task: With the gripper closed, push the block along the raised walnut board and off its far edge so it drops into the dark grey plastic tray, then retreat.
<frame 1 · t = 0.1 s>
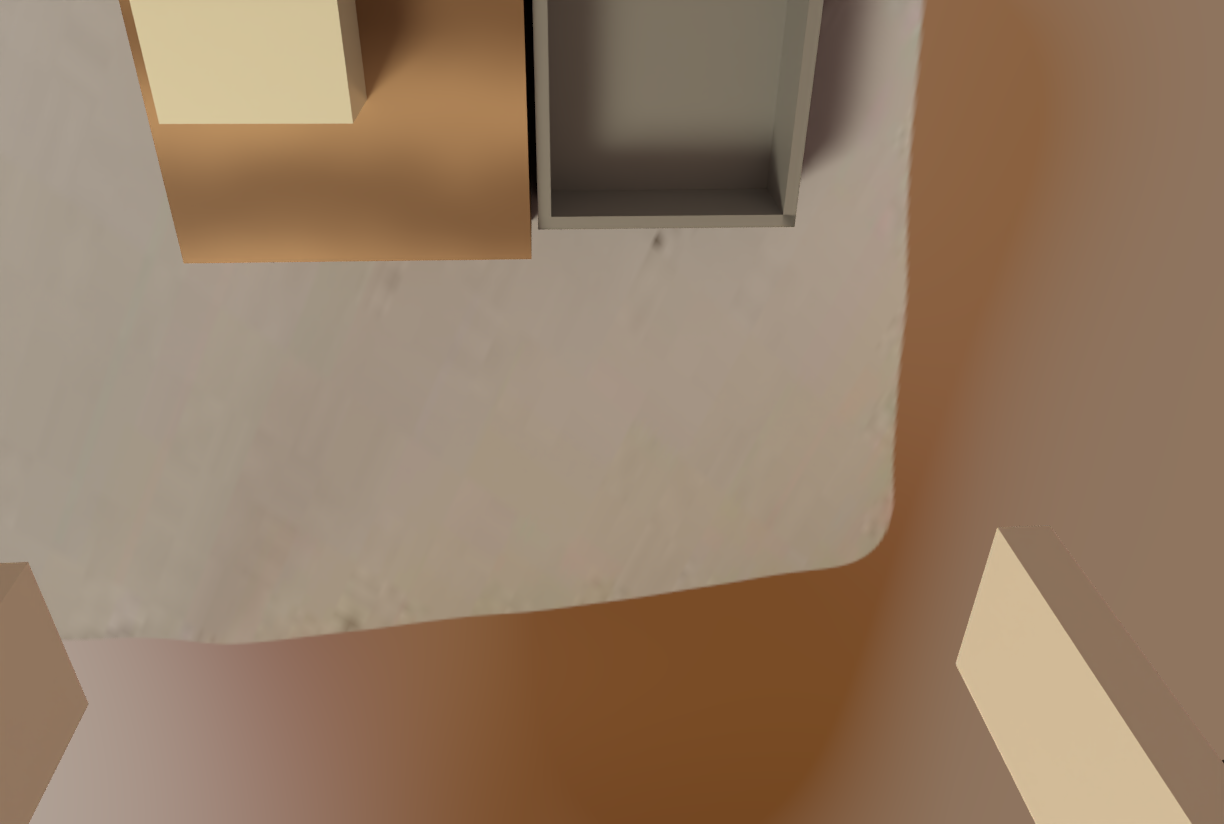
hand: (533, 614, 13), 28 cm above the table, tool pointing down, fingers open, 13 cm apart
block: (262, 5, 30), point 4 cm above the table, touching board
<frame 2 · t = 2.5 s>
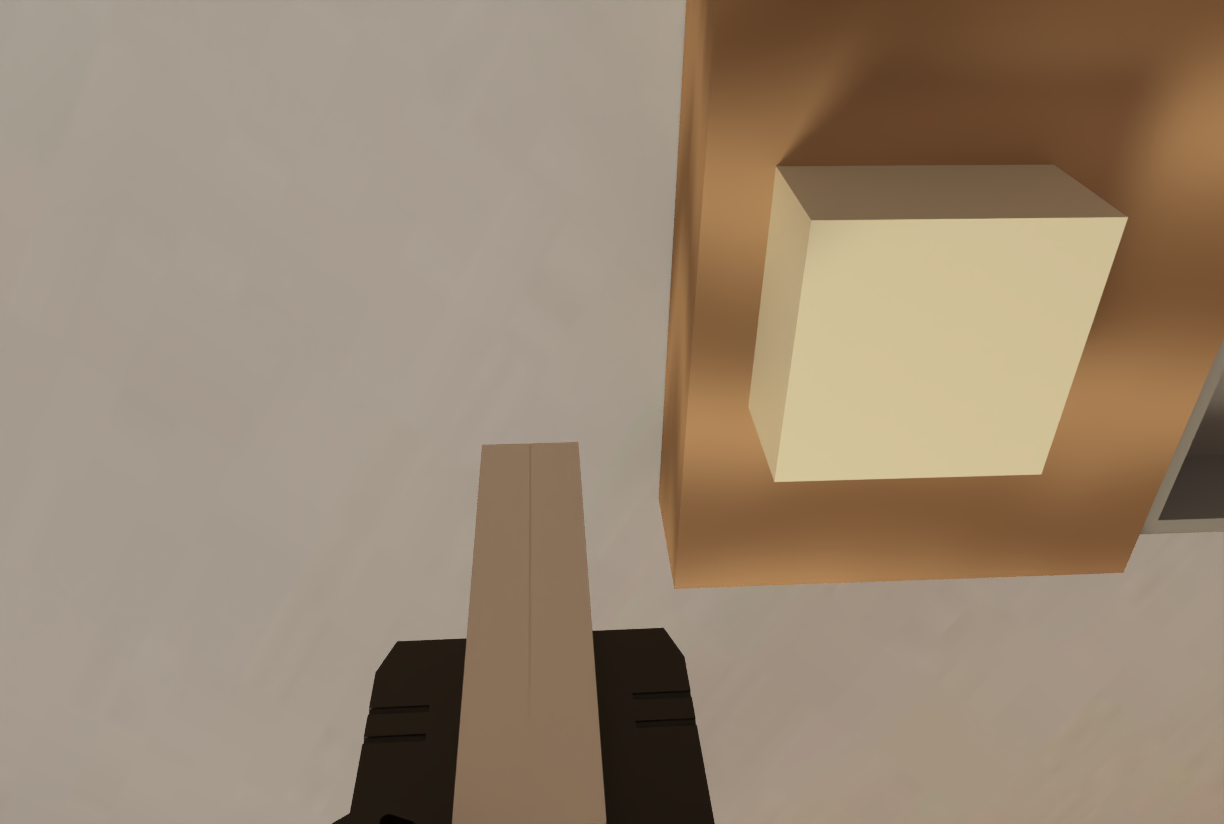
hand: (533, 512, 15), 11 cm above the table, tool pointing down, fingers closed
block: (890, 294, 21), point 4 cm above the table, touching board
board: (916, 226, 25), on the table
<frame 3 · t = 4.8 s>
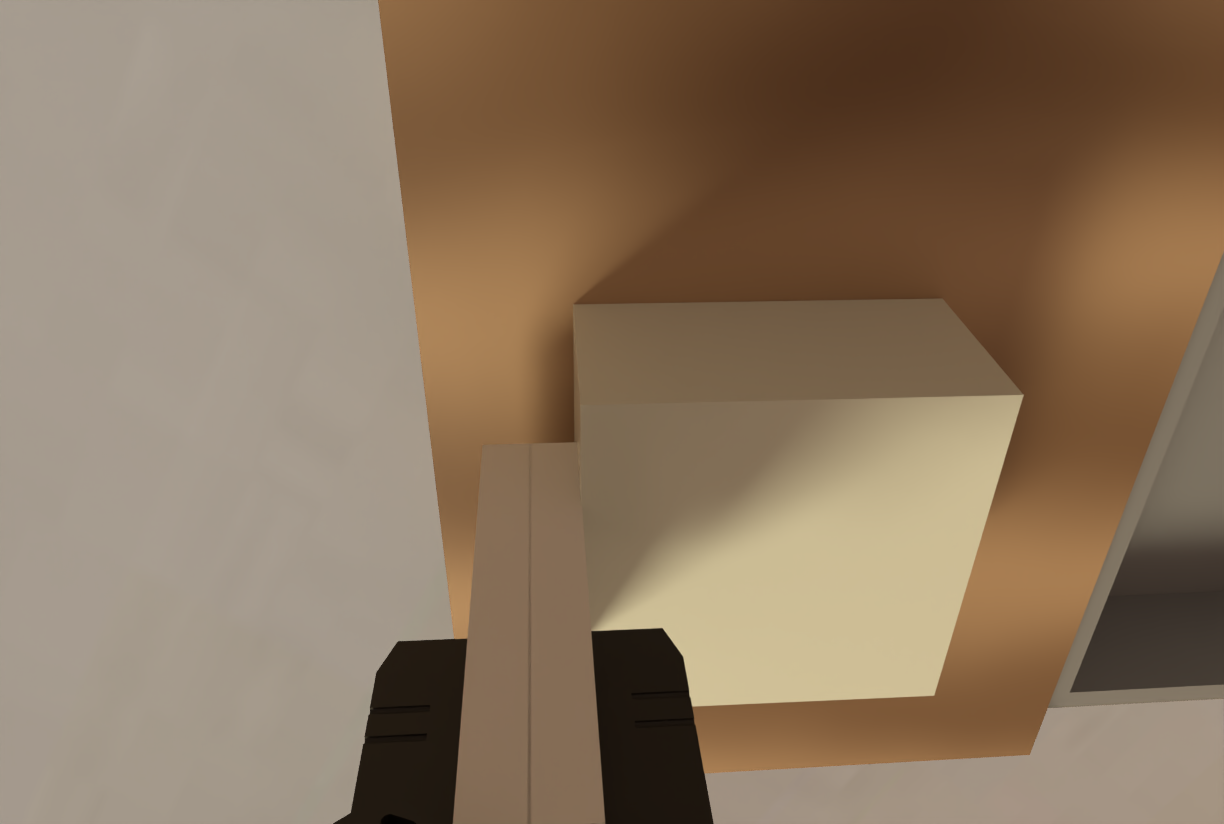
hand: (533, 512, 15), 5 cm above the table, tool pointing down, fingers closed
block: (743, 454, 17), point 4 cm above the table, touching gripper
board: (756, 343, 20), on the table
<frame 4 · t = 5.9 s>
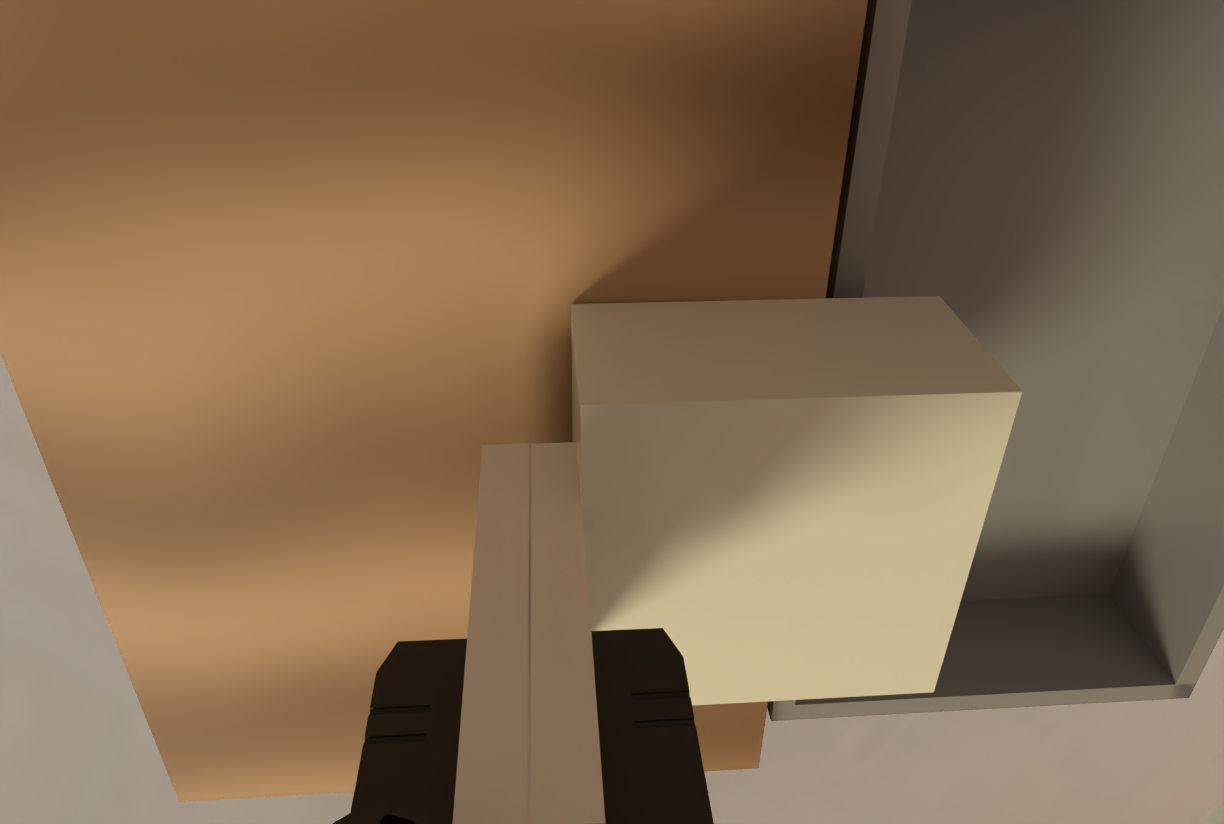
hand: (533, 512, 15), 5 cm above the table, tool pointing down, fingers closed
block: (741, 453, 17), point 4 cm above the table, touching gripper
board: (452, 349, 20), on the table
tray: (998, 333, 20), on the table
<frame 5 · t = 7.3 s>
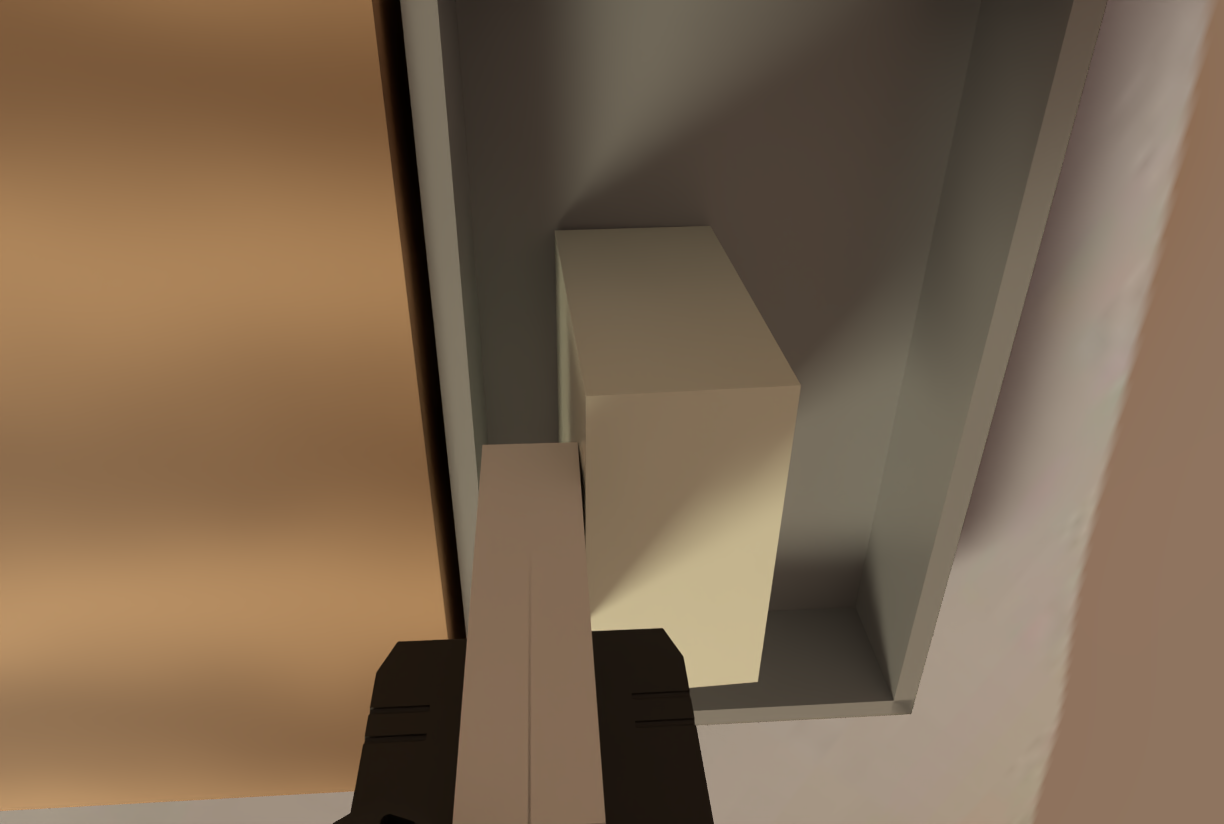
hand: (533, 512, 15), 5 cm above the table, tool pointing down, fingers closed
block: (569, 451, 17), point 4 cm above the table, tilted 93°, touching gripper, tray
board: (125, 357, 19), on the table
tray: (695, 343, 20), on the table
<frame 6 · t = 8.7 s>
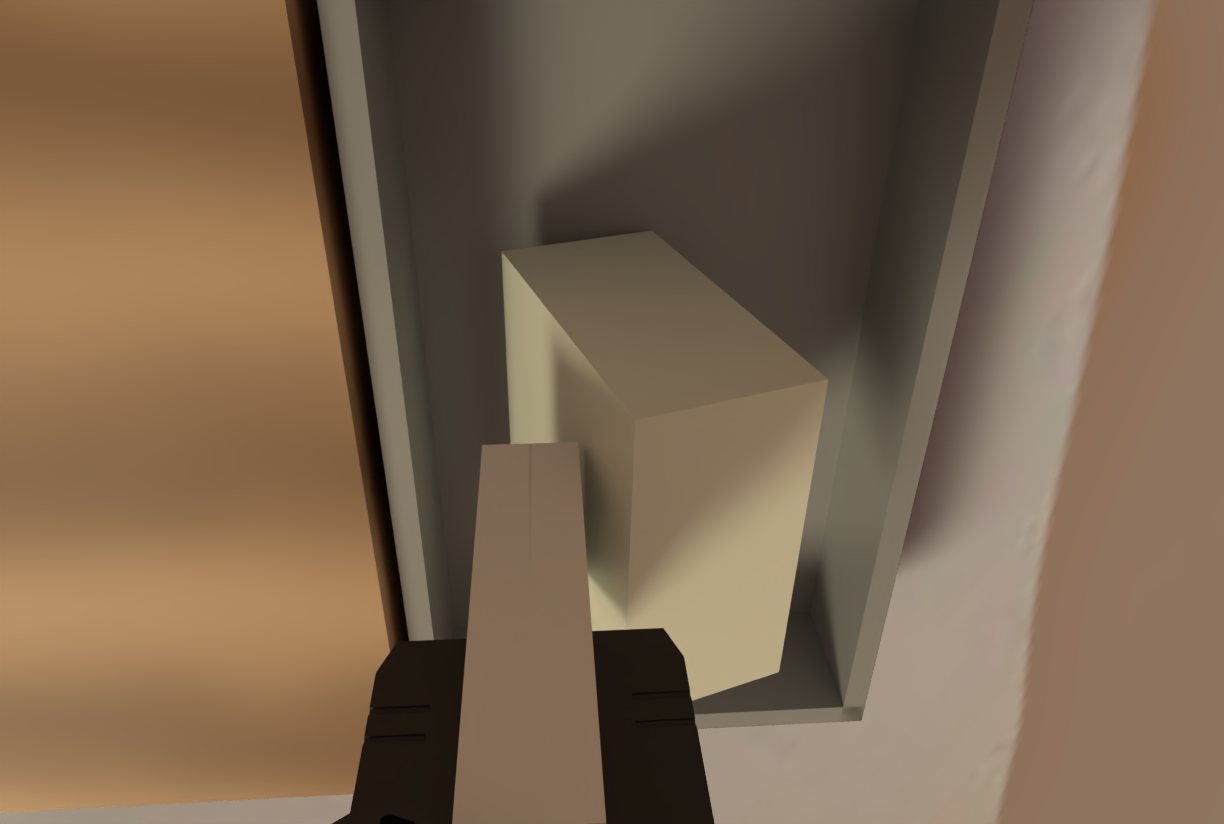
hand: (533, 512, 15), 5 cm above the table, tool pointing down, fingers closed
block: (559, 476, 16), point 4 cm above the table, tilted 108°, touching gripper, tray
board: (66, 360, 19), on the table
tray: (642, 348, 20), on the table
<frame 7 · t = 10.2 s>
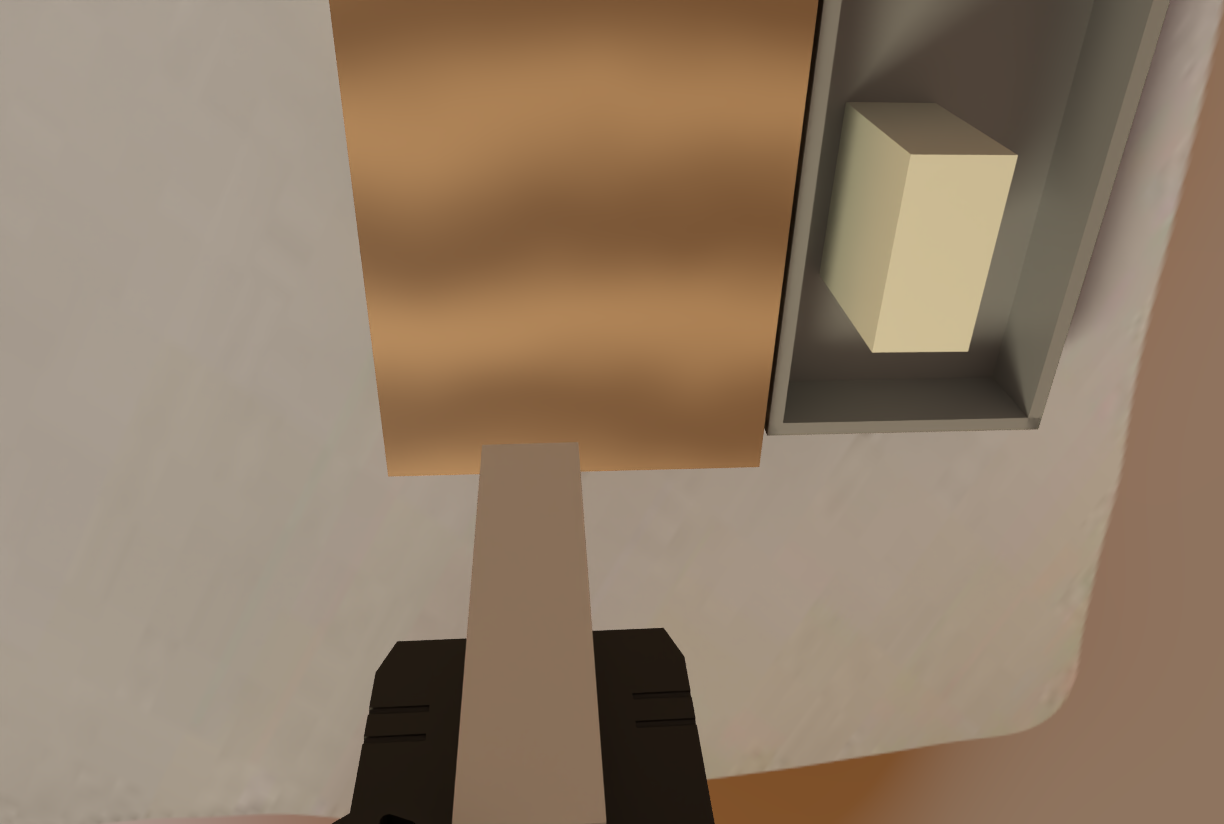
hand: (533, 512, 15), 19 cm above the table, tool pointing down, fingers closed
block: (858, 222, 29), point 3 cm above the table, tilted 90°, touching tray
board: (572, 184, 31), on the table
tray: (912, 183, 32), on the table
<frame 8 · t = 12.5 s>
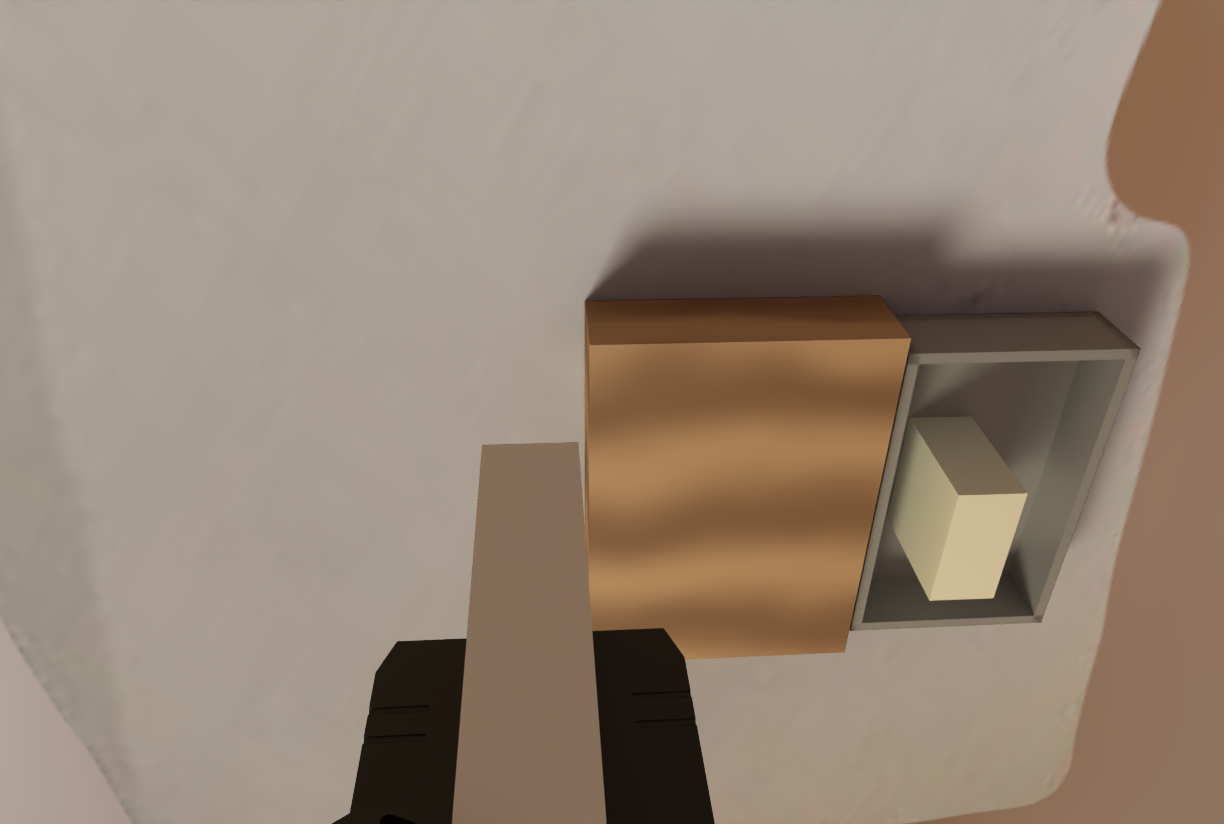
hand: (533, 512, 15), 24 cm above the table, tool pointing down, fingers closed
block: (919, 507, 43), point 3 cm above the table, tilted 90°, touching tray
board: (718, 466, 45), on the table
tray: (953, 458, 46), on the table
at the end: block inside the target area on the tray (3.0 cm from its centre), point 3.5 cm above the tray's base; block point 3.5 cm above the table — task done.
